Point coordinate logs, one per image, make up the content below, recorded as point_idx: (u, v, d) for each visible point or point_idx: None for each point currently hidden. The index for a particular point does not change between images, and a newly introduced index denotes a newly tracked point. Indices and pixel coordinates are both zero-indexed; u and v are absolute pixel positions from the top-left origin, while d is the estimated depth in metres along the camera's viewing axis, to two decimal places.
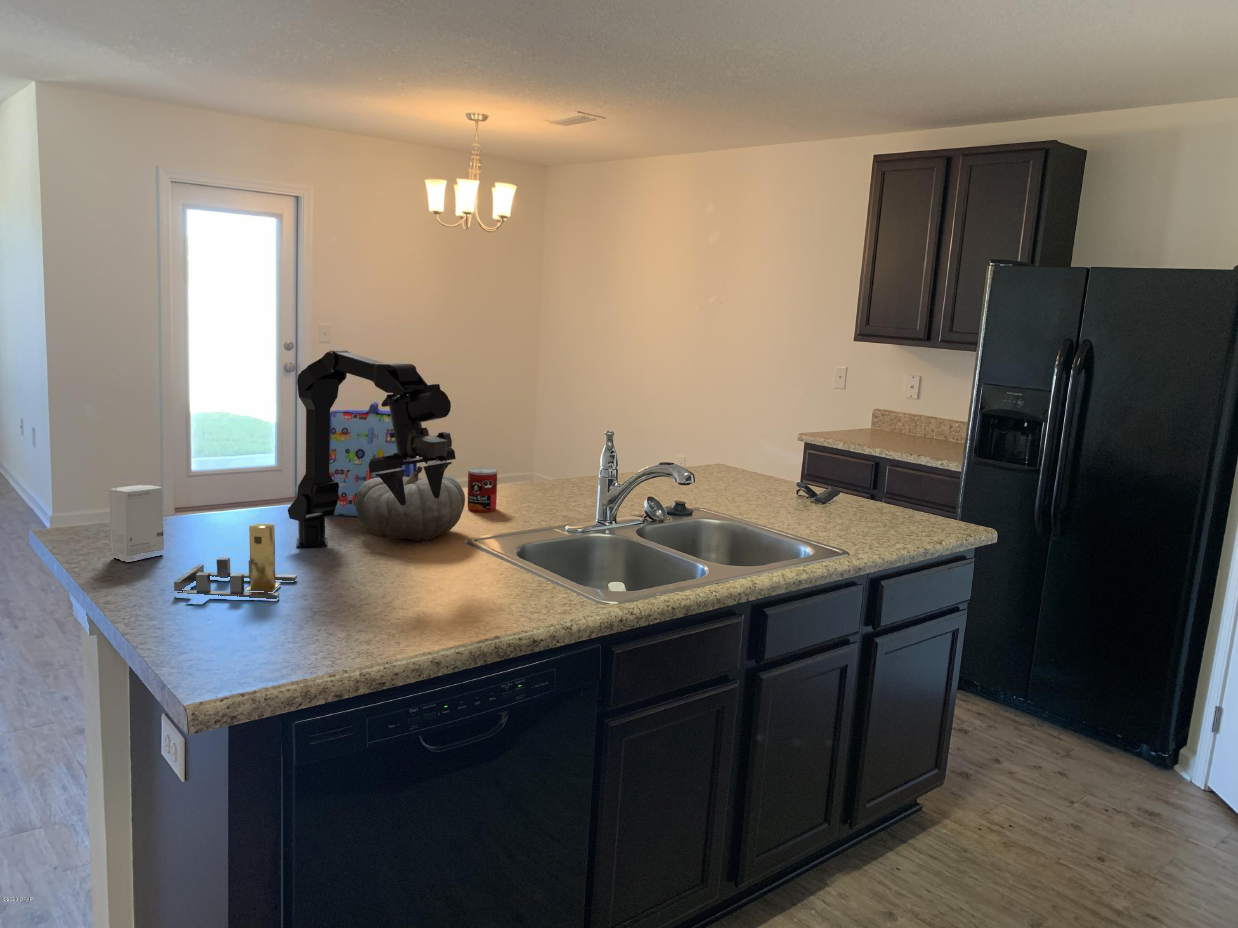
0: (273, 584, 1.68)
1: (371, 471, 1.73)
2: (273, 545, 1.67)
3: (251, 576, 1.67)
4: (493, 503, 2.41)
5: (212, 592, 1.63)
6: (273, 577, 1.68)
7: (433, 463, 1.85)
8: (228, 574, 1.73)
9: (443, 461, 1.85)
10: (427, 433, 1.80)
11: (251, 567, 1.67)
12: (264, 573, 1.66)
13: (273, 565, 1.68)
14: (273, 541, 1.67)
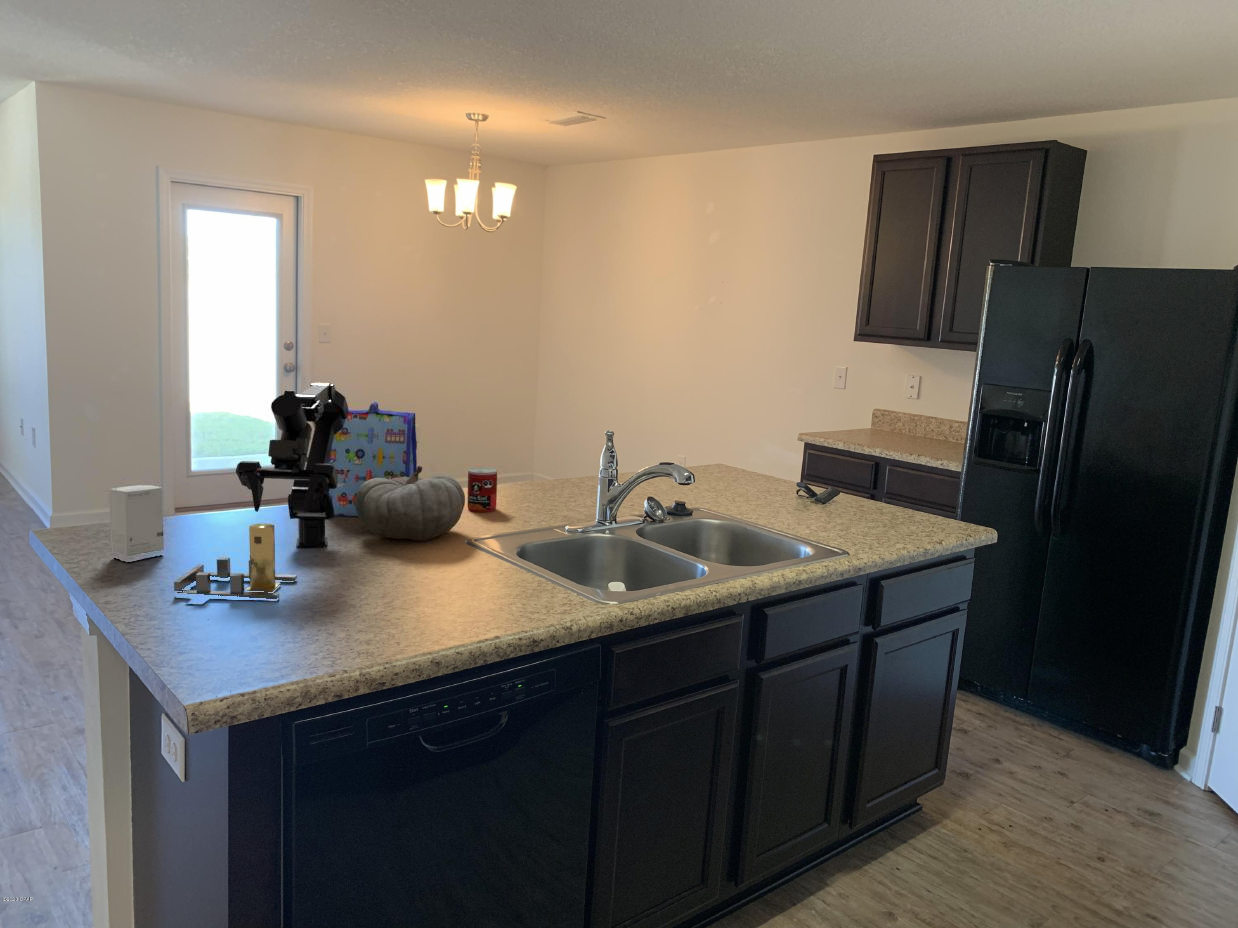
0: (273, 584, 1.68)
1: None
2: (273, 545, 1.67)
3: (251, 576, 1.67)
4: (493, 503, 2.41)
5: (212, 592, 1.63)
6: (273, 577, 1.68)
7: None
8: (228, 574, 1.73)
9: None
10: None
11: (251, 567, 1.67)
12: (264, 573, 1.66)
13: (273, 565, 1.68)
14: (273, 541, 1.67)
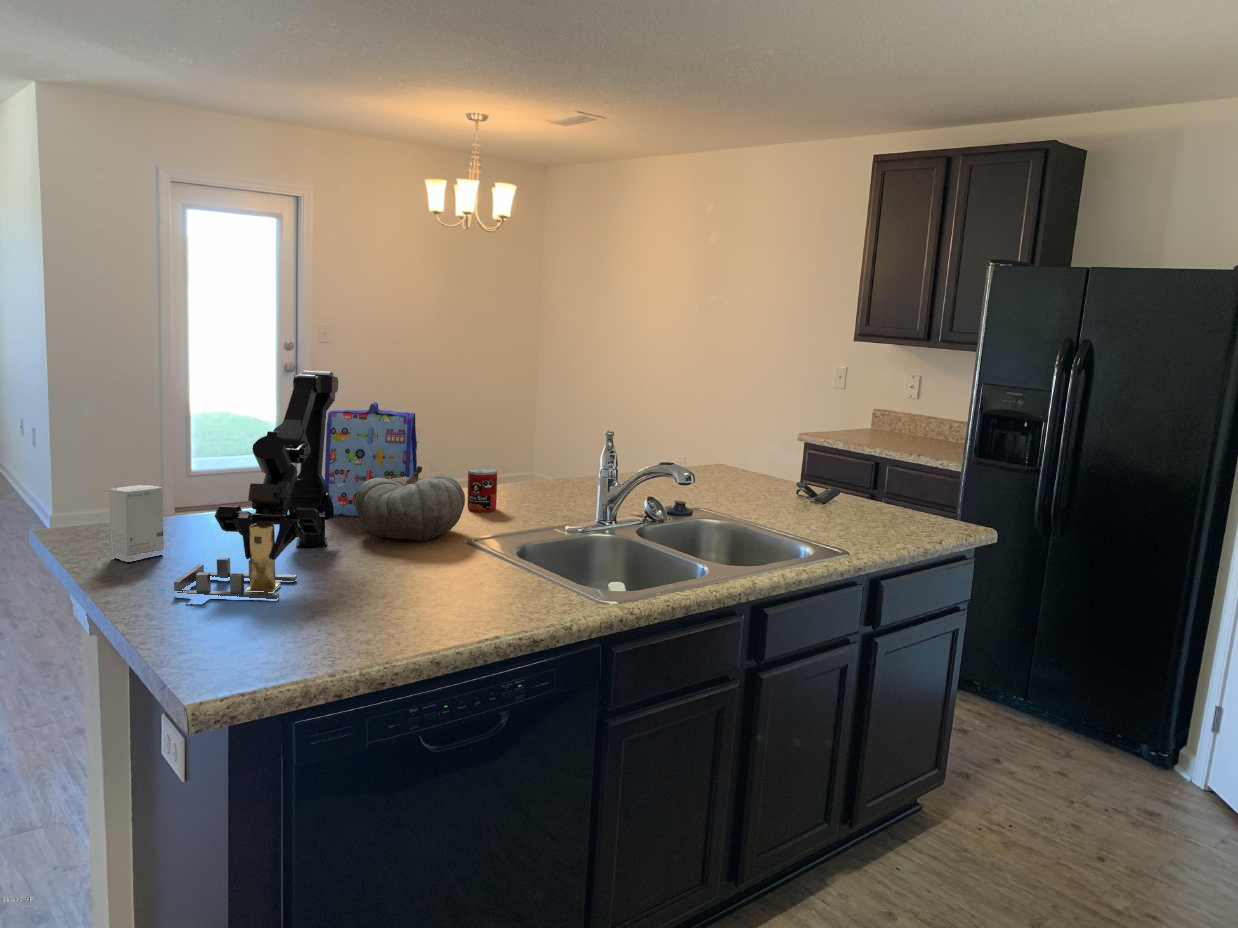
0: (273, 584, 1.68)
1: None
2: (273, 545, 1.67)
3: (251, 576, 1.67)
4: (493, 503, 2.41)
5: (212, 592, 1.63)
6: (273, 577, 1.68)
7: None
8: (228, 574, 1.73)
9: None
10: None
11: (251, 567, 1.67)
12: (264, 573, 1.66)
13: (273, 565, 1.68)
14: (273, 541, 1.67)
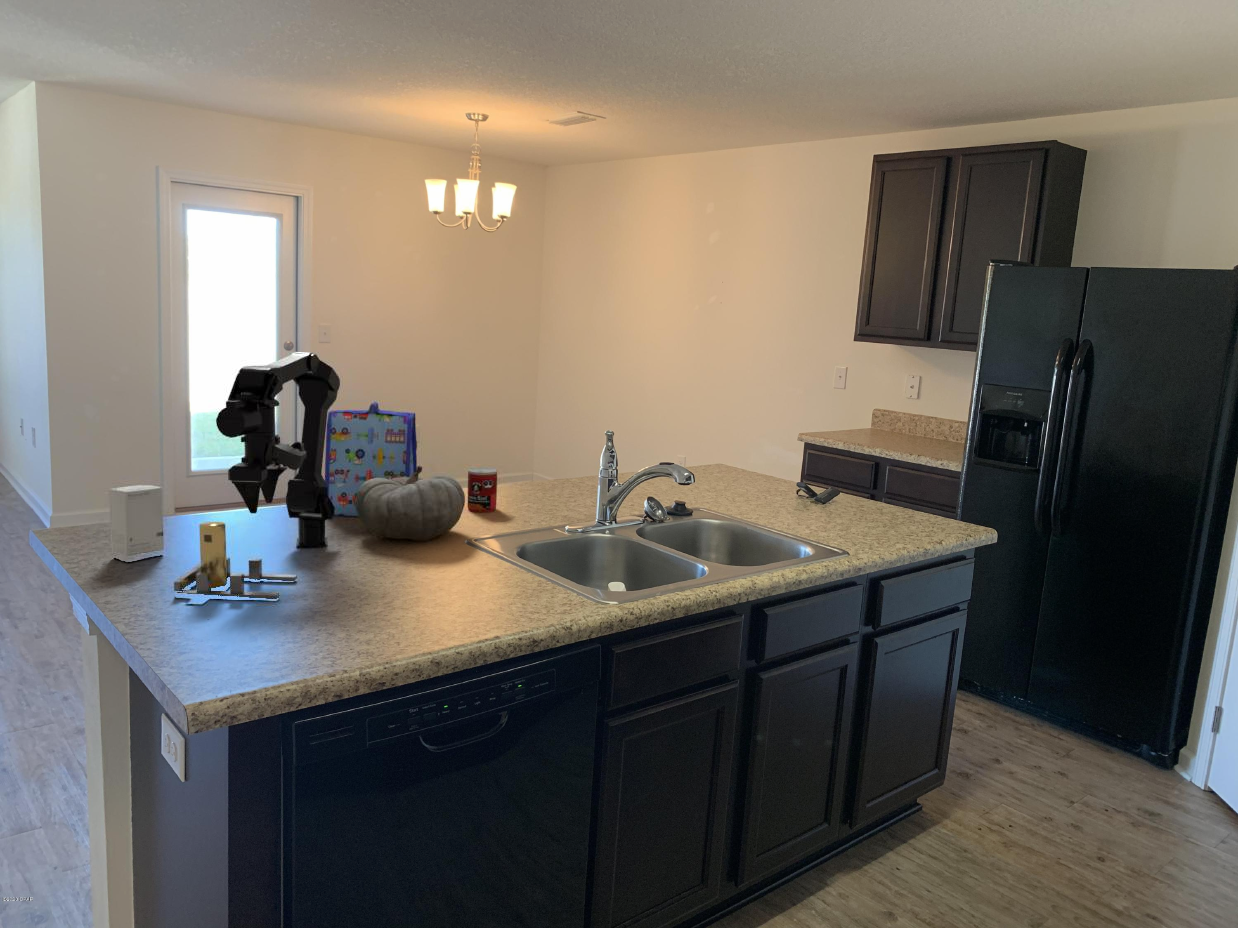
0: (224, 582, 1.68)
1: (233, 479, 1.68)
2: (224, 543, 1.67)
3: None
4: (493, 503, 2.41)
5: (212, 592, 1.63)
6: (224, 575, 1.68)
7: (268, 467, 1.83)
8: (228, 574, 1.73)
9: (279, 466, 1.84)
10: (279, 441, 1.78)
11: (201, 565, 1.66)
12: (215, 572, 1.66)
13: (224, 563, 1.67)
14: (224, 539, 1.67)
